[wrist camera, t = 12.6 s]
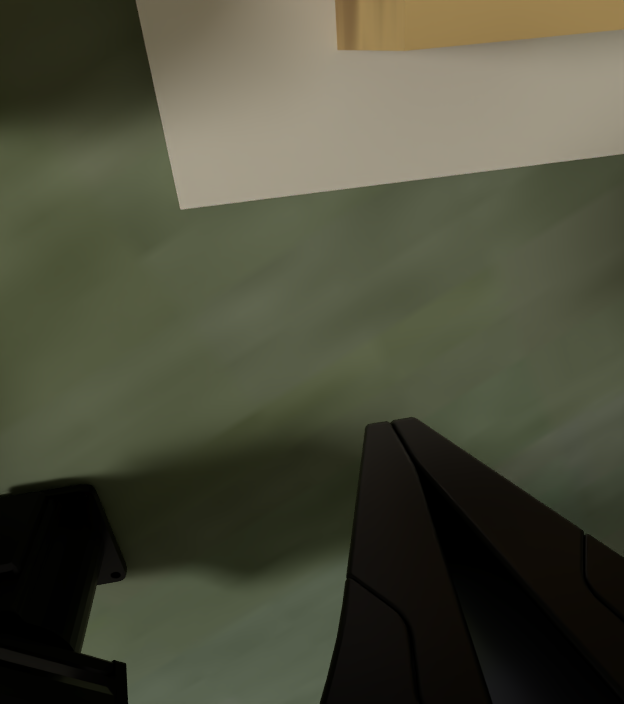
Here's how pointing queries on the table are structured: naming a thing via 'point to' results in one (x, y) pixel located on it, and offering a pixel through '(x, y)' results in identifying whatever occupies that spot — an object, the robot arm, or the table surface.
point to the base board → (363, 101)
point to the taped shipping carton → (466, 21)
